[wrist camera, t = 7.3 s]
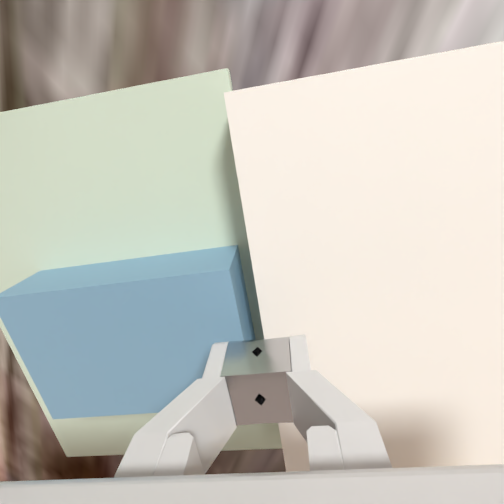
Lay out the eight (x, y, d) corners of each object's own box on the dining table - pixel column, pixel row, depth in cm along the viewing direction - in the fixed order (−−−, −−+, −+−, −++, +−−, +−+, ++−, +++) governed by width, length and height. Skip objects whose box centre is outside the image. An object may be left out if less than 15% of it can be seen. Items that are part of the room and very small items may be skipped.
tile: (40, 270, 13) (-10, 298, 11) (237, 244, 12) (229, 269, 10) (86, 376, 15) (52, 419, 13) (259, 362, 14) (257, 406, 12)
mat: (-86, 132, 12) (-100, 132, 12) (229, 71, 11) (227, 68, 10) (71, 448, 18) (66, 456, 18) (287, 439, 17) (287, 448, 16)
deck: (234, 102, 11) (223, 92, 9) (607, 35, 10) (715, 1, 7) (285, 426, 16) (286, 474, 14) (527, 414, 15) (574, 466, 13)
